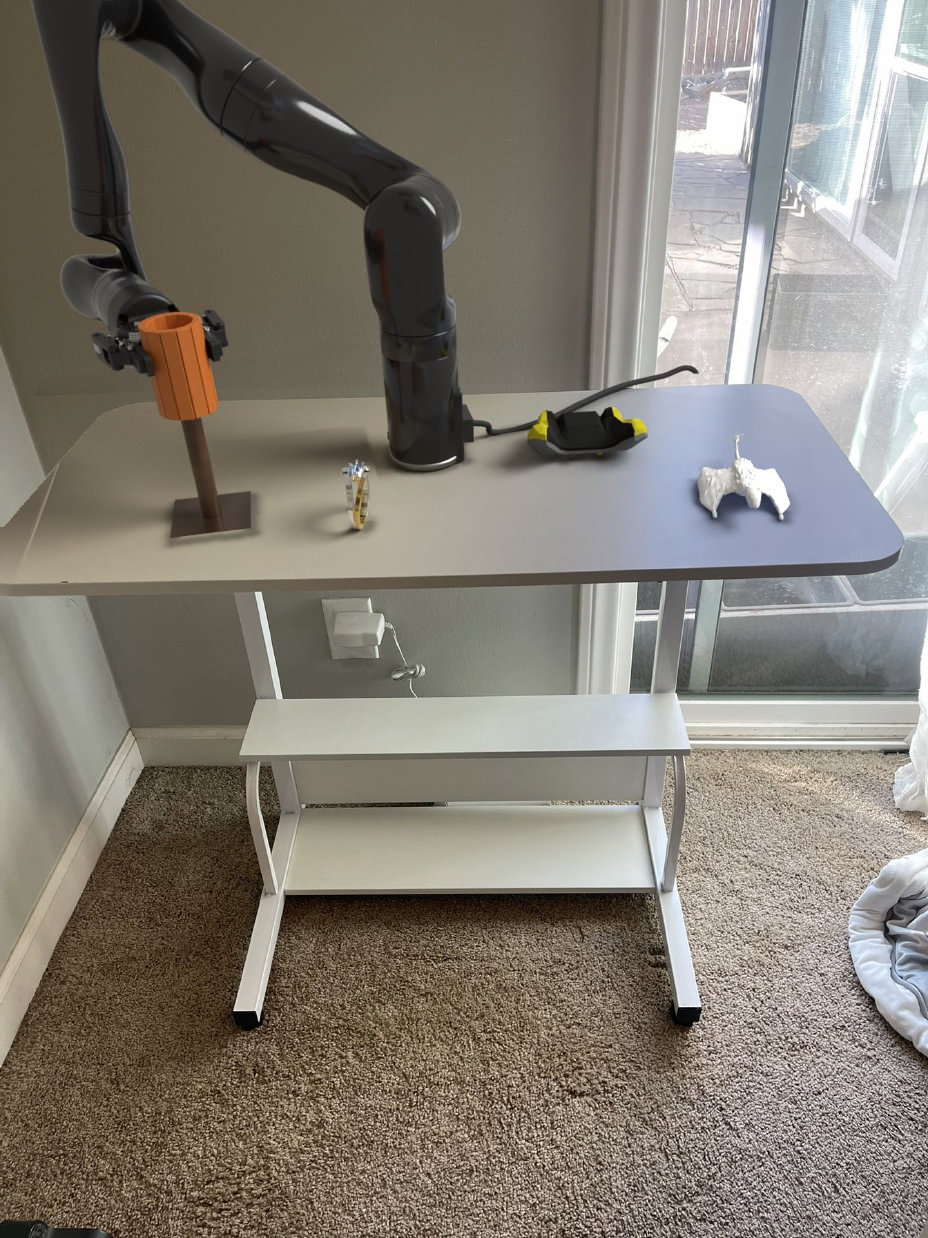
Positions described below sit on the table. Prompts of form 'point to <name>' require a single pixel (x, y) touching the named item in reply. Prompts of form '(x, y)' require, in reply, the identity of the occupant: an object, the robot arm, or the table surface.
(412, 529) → the table surface
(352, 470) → the ring
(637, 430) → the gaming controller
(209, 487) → the brown peg stand
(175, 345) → the orange stave barrel
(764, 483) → the white dragon
